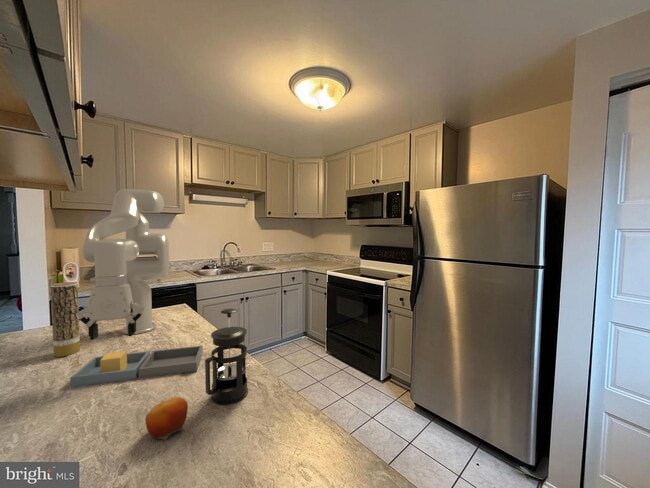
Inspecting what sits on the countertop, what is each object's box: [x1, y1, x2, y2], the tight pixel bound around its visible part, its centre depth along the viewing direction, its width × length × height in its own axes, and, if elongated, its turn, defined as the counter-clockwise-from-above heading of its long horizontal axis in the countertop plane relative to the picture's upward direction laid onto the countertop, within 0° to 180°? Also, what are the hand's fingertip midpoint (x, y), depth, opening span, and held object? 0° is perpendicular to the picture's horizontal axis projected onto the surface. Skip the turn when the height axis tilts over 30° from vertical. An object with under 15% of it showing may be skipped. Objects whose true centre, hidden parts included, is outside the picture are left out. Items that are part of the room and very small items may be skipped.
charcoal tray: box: [138, 345, 203, 379], centre depth 89 cm, size 13×16×3 cm
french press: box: [204, 308, 249, 406], centre depth 73 cm, size 12×9×23 cm
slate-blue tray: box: [69, 350, 151, 388], centre depth 84 cm, size 13×16×3 cm
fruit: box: [145, 396, 189, 441], centre depth 60 cm, size 8×8×8 cm
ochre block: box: [100, 350, 128, 373], centre depth 84 cm, size 5×5×5 cm
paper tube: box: [50, 281, 81, 358], centre depth 97 cm, size 7×7×25 cm
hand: (113, 336), depth 84 cm, fingers open, 9 cm apart
